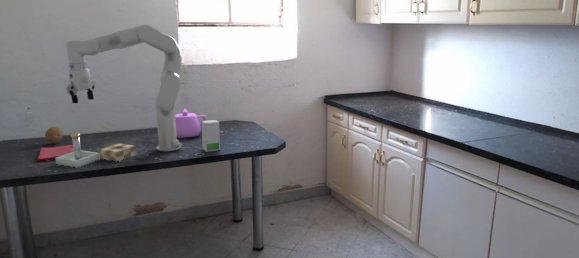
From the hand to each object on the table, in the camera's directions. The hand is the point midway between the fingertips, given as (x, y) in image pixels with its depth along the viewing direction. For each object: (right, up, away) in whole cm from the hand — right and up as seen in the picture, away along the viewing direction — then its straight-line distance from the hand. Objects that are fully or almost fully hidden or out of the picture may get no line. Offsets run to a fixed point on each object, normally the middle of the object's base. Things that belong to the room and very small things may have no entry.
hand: (83, 101), depth 215 cm
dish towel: (-20, -28, +13) cm, 36 cm away
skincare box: (+60, -25, +18) cm, 68 cm away
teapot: (+40, -18, +48) cm, 65 cm away
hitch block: (+15, -28, +7) cm, 32 cm away
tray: (-2, -30, -1) cm, 30 cm away
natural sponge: (-31, -23, +31) cm, 49 cm away
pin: (-2, -29, -1) cm, 29 cm away
